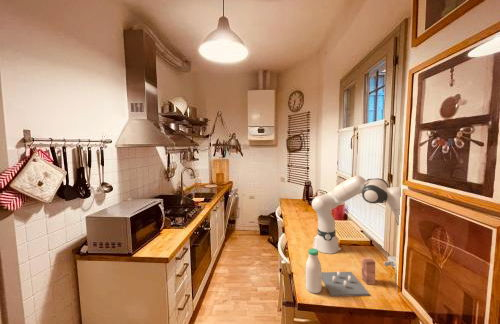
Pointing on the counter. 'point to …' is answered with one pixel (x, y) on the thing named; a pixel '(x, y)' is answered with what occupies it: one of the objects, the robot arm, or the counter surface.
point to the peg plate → (343, 284)
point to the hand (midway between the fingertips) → (390, 268)
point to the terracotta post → (368, 270)
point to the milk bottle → (313, 272)
